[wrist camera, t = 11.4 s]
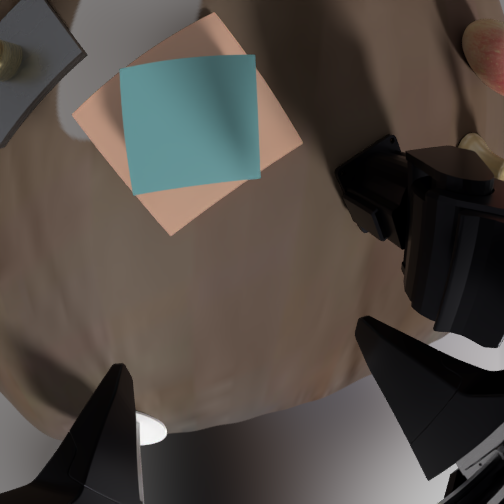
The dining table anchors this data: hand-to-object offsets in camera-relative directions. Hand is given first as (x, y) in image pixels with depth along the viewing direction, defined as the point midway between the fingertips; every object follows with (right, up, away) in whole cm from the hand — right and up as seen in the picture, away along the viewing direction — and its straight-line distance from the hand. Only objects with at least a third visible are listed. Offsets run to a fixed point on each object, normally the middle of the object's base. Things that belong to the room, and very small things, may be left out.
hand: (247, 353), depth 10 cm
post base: (-17, +17, +1) cm, 24 cm away
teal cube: (-4, +12, +6) cm, 14 cm away
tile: (-4, +12, +7) cm, 14 cm away
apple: (+25, +26, +7) cm, 36 cm away
